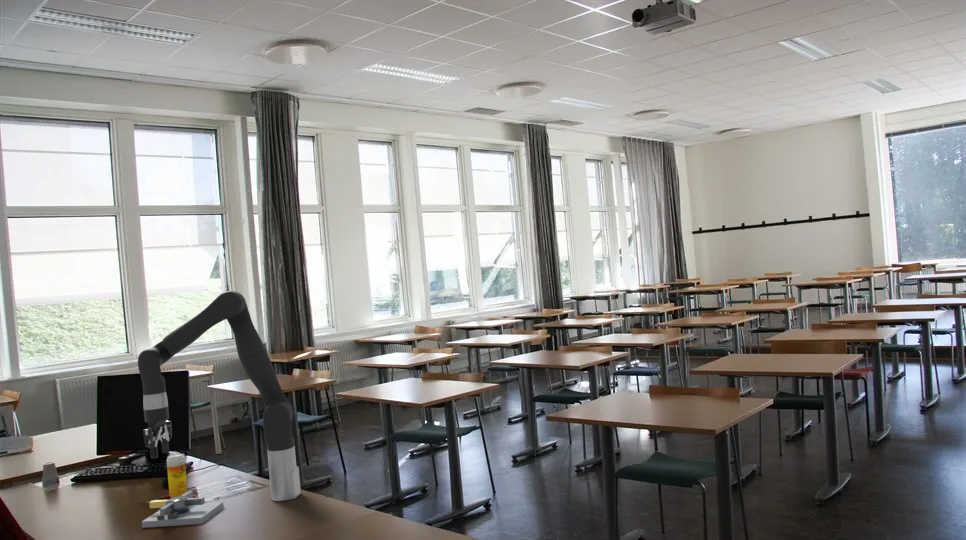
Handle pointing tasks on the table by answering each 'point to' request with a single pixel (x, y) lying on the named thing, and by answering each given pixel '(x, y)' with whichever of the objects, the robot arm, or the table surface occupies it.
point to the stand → (184, 516)
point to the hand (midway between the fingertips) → (160, 455)
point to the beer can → (176, 475)
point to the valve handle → (177, 503)
